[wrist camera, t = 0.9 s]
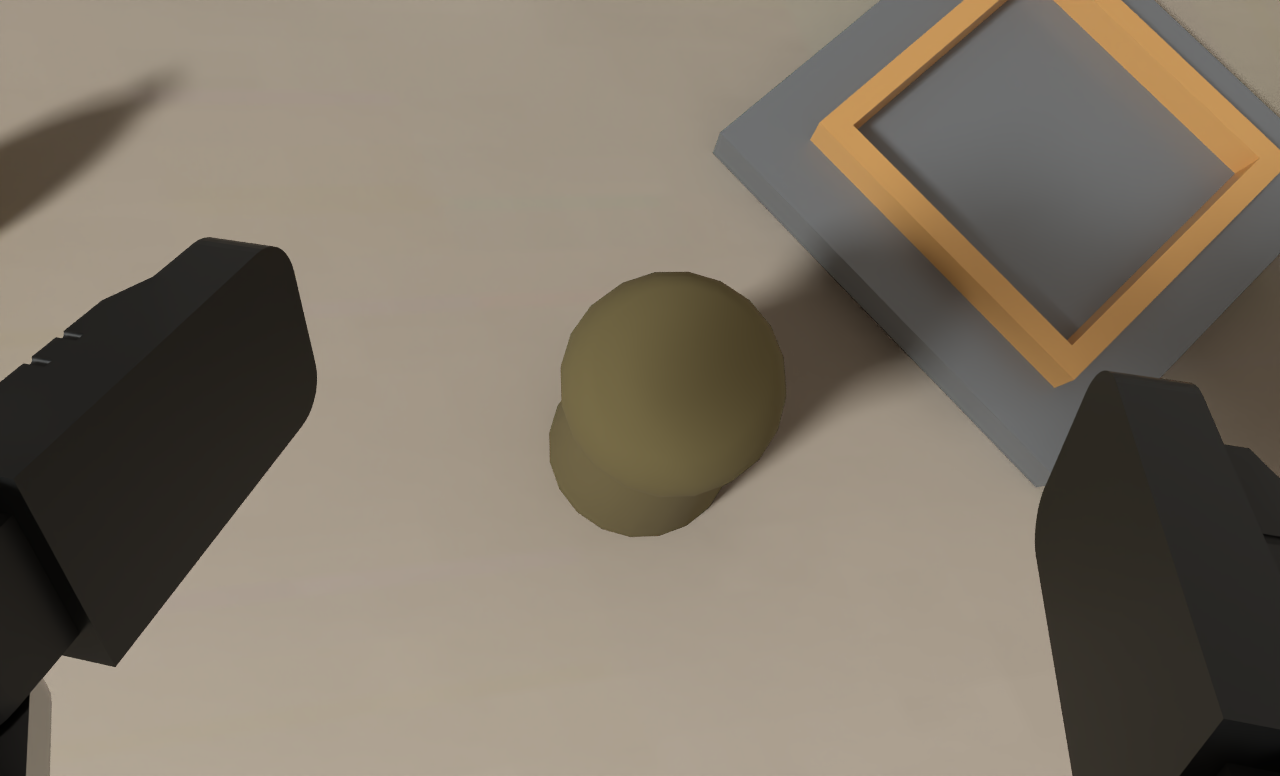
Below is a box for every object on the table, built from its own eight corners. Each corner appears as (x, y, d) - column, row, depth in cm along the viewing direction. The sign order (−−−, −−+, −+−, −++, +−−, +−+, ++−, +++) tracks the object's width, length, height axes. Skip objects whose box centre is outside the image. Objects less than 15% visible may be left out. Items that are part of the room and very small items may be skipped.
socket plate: (712, 152, 33) (725, 114, 30) (1007, -91, 36) (1042, -145, 33) (1036, 487, 31) (1080, 478, 28) (1314, 199, 34) (1377, 167, 32)
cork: (710, 341, 31) (786, 212, 20) (749, 517, 30) (851, 479, 19) (533, 372, 30) (516, 256, 20) (566, 554, 29) (567, 535, 19)
